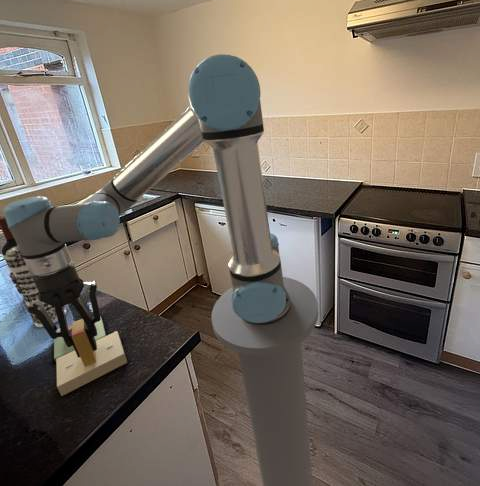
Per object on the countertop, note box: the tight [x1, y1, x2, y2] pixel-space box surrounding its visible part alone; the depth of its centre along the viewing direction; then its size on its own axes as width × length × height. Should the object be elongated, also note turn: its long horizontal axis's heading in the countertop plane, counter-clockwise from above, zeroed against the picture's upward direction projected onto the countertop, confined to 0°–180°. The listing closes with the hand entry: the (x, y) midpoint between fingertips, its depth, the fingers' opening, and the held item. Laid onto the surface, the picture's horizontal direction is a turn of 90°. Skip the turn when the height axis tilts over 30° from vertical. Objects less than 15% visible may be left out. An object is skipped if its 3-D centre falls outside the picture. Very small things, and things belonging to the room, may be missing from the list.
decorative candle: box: [2, 246, 67, 328], centre depth 90 cm, size 9×9×25 cm
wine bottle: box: [0, 216, 19, 286], centre depth 101 cm, size 8×8×30 cm
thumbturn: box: [71, 318, 96, 366], centre depth 72 cm, size 6×2×9 cm, turn 32°
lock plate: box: [55, 330, 128, 397], centre depth 74 cm, size 14×10×3 cm
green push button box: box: [53, 317, 107, 362], centre depth 83 cm, size 12×10×3 cm
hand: (87, 349), depth 73 cm, fingers closed on thumbturn, 2 cm apart
